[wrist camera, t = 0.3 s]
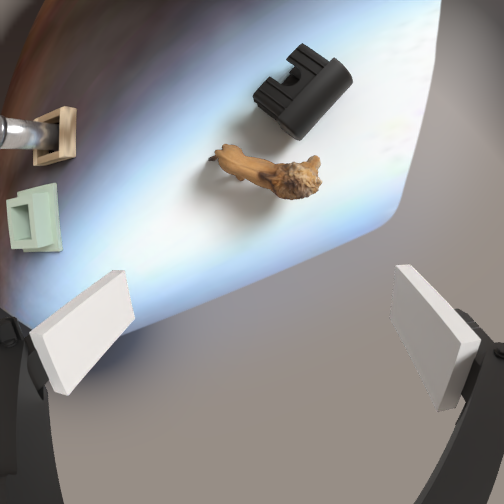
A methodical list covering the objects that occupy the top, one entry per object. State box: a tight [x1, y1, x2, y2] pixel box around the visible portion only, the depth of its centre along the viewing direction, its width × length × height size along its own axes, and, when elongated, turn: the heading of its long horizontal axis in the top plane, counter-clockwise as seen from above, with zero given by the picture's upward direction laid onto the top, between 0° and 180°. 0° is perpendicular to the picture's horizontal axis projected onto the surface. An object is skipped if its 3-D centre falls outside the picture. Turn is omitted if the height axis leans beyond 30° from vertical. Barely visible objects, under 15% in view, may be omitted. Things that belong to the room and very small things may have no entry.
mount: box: [33, 106, 77, 166], centre depth 42 cm, size 9×9×3 cm
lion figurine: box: [208, 144, 322, 200], centre depth 34 cm, size 15×5×9 cm, turn 78°
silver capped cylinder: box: [0, 115, 60, 151], centre depth 36 cm, size 5×5×15 cm
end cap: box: [253, 43, 353, 141], centre depth 32 cm, size 10×7×7 cm
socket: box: [6, 183, 63, 252], centre depth 45 cm, size 12×12×5 cm
